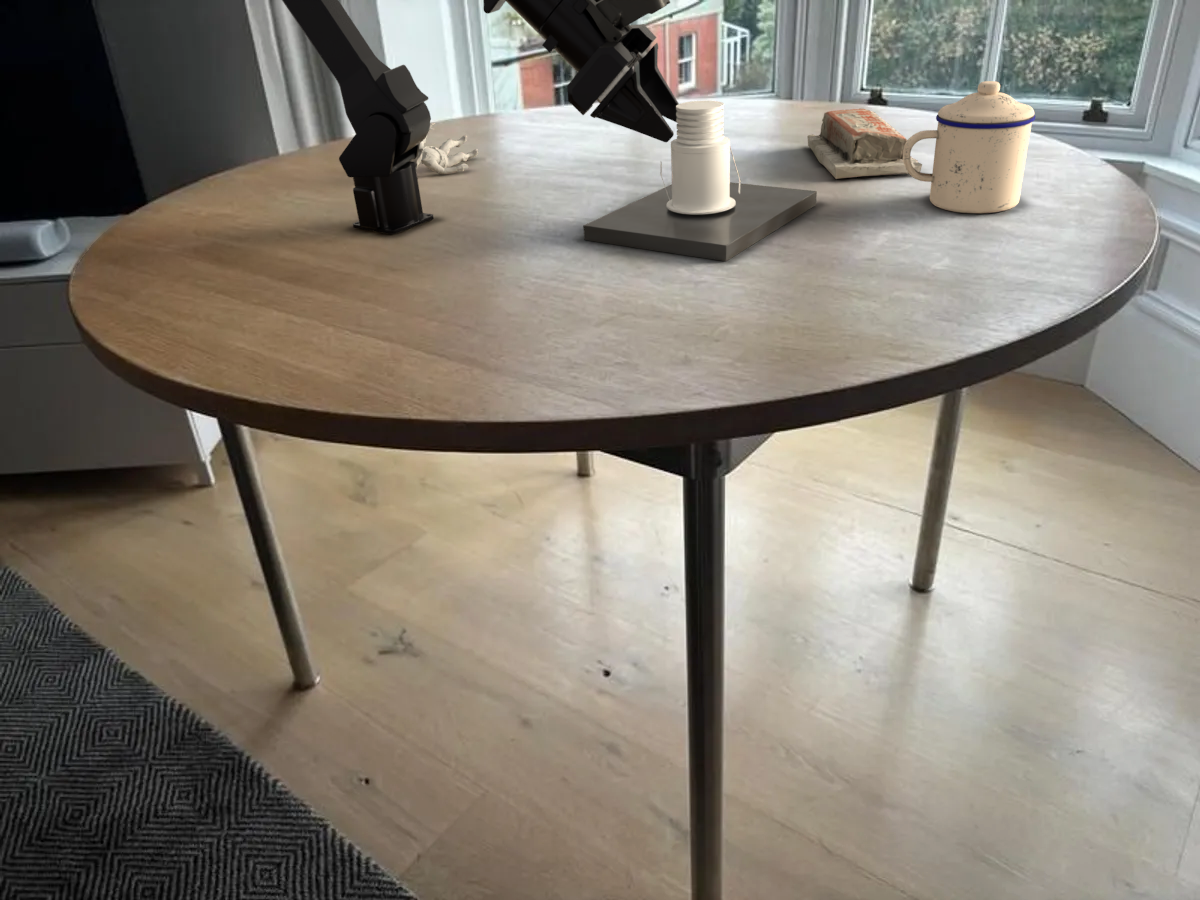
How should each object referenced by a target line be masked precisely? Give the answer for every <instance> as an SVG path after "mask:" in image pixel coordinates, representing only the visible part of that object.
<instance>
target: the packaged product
mask: <svg viewBox="0 0 1200 900" xmlns="http://www.w3.org/2000/svg"><path fill="white" fill-rule="evenodd" d="M821 122H822V123H821V127H820V133H819V134H818V135H815V134H813V133H811V134H807V147H808V148H809V149H810V150H811V151H812V153H813V154H814V156H815V158H816V159H817V161H818V162H819V163H820V164H821V165H822V166H823V167H825V168H826V170H827V171H828V172H829V173H830V175H832V176H833V178H835V179H836V180H837V179H847V178H857V177H858V178H859V177H876V176H895V175H910V174H909V173H908V171H907V169H906V168H905V165H904V162H903V149H904V146H905V143H906V142H907V140H908V139H907V138H906V137H905V136H904V135H903V134H901V133H900V131H897V129H895V128H894V127H893V126H891V125H890V124H889V123H888V122H887V121H885V119H883V118H882V117H880V116H879V114H877V113H876V111H872V110H870V109H865V108H852V109H839V110H829V111H826V112H824V113H823V118H822V120H821ZM910 159H911V164H912V166H913V168H914V169H915V170H916V171H918V172H922V168H923V164H922V163H921V162H919V160H918V159H916V158H914V157H913V156H911V155H910Z"/></svg>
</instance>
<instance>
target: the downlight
mask: <svg viewBox="0 0 1200 900" xmlns="http://www.w3.org/2000/svg"><path fill="white" fill-rule="evenodd" d="M724 107H725V103H724V102H722V101H718V100H693V101H692V100H691V101H686V102H685V101H684V102H681V103H679V104H678V105H676V110H677V112H676V116H677V118H676V122H677V123H676V122H675V123H676V135H677V136H676V138H674V139H673V140H671V141H670V165H671V166H670V167H671V168H670V169H671V170H670V171H671V184H672V200H670V199H669V201H668V202H667V204H666V206H667V208H668V209H669V210H671V211H673V212H677V213H682V214H712V213H718V212H722V211H726V210H729V209H731V208H733V207H734V206H735V204H736V201H735V200H734V199H733V198H731V197H730V182H731V157H732V160H733V163H734V167H735V170H736V173H737V177H738V183H739V191H738V192H739V194H740V188H741V183H742V180H741V176H740V173H739V170H738V166H737V163H736V159H735V156H734V154H733V150H732V148H731V147H732V146H731V139H730V137H727V136H725V135H724V131H725V128H724V126H725V122H724V120H725V116H724V115H725V110H724ZM662 164H663V163H662V161H660V172H659V173H660V178H661V181H662V183H663V186H664V188H665V187H666V184H665V181H664V179H663V177H662V175H663V174H662V172H663V170H662V169H663V167H662V166H663V165H662ZM665 189H666V188H665ZM666 192H667V190H666ZM667 195H668V193H667ZM668 198H669V196H668Z"/></svg>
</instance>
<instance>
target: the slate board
mask: <svg viewBox="0 0 1200 900" xmlns="http://www.w3.org/2000/svg"><path fill="white" fill-rule="evenodd" d="M665 188H666V189H665ZM666 190H667V192H666ZM738 191H739V182H731V181H730V197H731V198H733V199H734V200H735V201H736V204H735V206H734V207H733V208H731V209H729V210H726V211H722V212H718V213H712V214H682V213H677V212H673V211H671V210H669V209H668V208H667V206H666V204H667V202H668V201H669V199H670V200H672V183H671V184H669V185H667V186H664V187H663V188H661V189H658V190H656V191H654V192H652V193H650V194H647V195H646V196H643V197H641V198H638V199H637V200H635V201H632V202H631V203H628V204H626V205H623V206H622V207H619V208H617V209H616V210H613V211H611V212H609V213H606V214H605V215H603V216H600V217H599V218H596V219H594V220H591V221H589V222H587V223H585V224H583V227H582V228H583V239H584V241H589V242H596V243H603V244H609V245H616V246H622V247H628V248H629V247H630V248H634V249H635V248H636V249H642V250H648V251H655V252H661V253H668V254H676V255H681V256H688V257H695V258H700V259H707V260H715V261H720V262H721V261H723V262H727V261H729V260H731V259H732V258H734V257H736V256H737V255H739V254H740V253H742V252H743V251H745V250H746V249H748V248H750V247H752V246H754V245H755V244H757V243H758V242H760V241H761V240H763V239H764V238H766V237H767V236H770V235H771V234H772V233H773V232H775V231H778V230H779V229H780V228H782V227H783V226H785V225H787V224H788V223H790V222H791V221H793V220H794V219H796V218H798V217H799V216H801V215H803V214H804V213H806V212H807V211H809V210H811V209H812V208H814V207H815V206H817V198H818V197H817V196H818V192H817V190H811V189H801V188H791V187H790V188H789V187H780V186H772V185H771V186H769V185H760V184H750V183H742V182H741V188H740V194H739V192H738ZM667 193H668V195H667ZM668 196H669V198H668Z"/></svg>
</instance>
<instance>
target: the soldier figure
mask: <svg viewBox="0 0 1200 900" xmlns="http://www.w3.org/2000/svg"><path fill="white" fill-rule="evenodd" d="M435 124H436V122H430V128H429V131H433V130H435V128H432V127H433V125H435ZM427 138H428V135H427V136H426V138H425V139H424V140H423V141H422V142H421V143H420V147H419V152H418V157H417V158H415V159H412V160H411V161H412V162H415V166H416V170H417V169H418V167H419V165H420V163H421V164H422V165H424V167H426V168H427V169H429V170H430V171H433V172H435V173H437V174H440V175H451V174H454V173H458V172H459V171H460V172H464V171H465V169H469V165H468V164H466V162H467V160H468V161H469V160H471V159H473V158H476V157H477V156H478V154H479V149H478V148H475V149H473V150H471V151H469V152H467V153H464V152H463V151H458V152H456V153H454V154H451V155H449V153H450V151H451V149H453V148H460V147H462V146H463V145H465V144H466V142H467V141H468V136H467V135H466V134H464V135H462V136H461V137H459V139H457V140H454V139H452V138H448V139H447V140H446V141H443V142H442V144H441V145H440V146H439V148H438V147H436V146H434V145H432V146H431V145H430V146H429V145H425V144H426V142H427ZM462 162H463V163H462ZM459 163H460V164H459ZM458 164H459V165H458ZM455 165H457V166H455Z"/></svg>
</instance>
